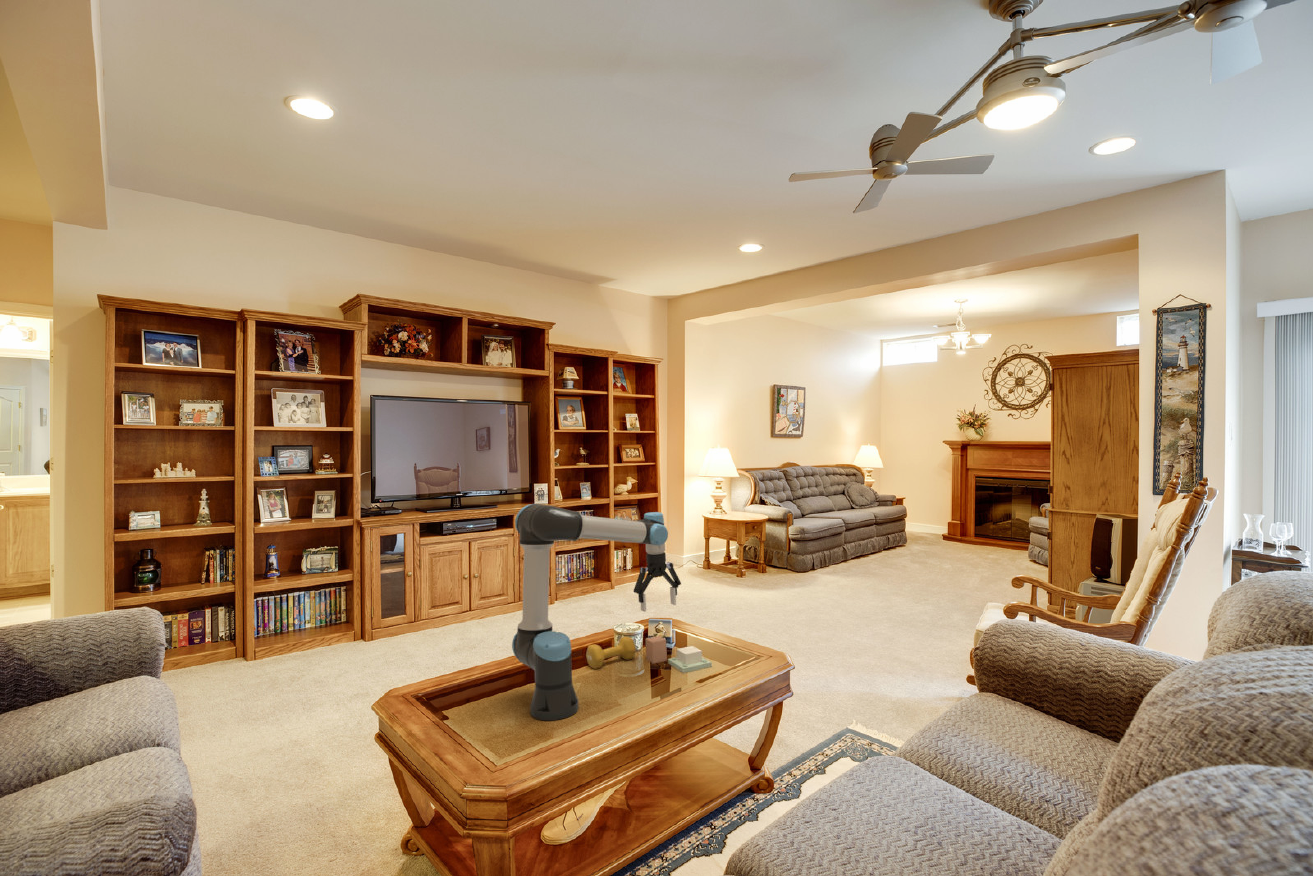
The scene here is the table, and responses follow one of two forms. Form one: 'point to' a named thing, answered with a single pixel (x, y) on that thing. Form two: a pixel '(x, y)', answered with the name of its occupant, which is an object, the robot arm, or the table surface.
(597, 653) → the dumbbell
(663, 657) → the top brick
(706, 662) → the tower base
